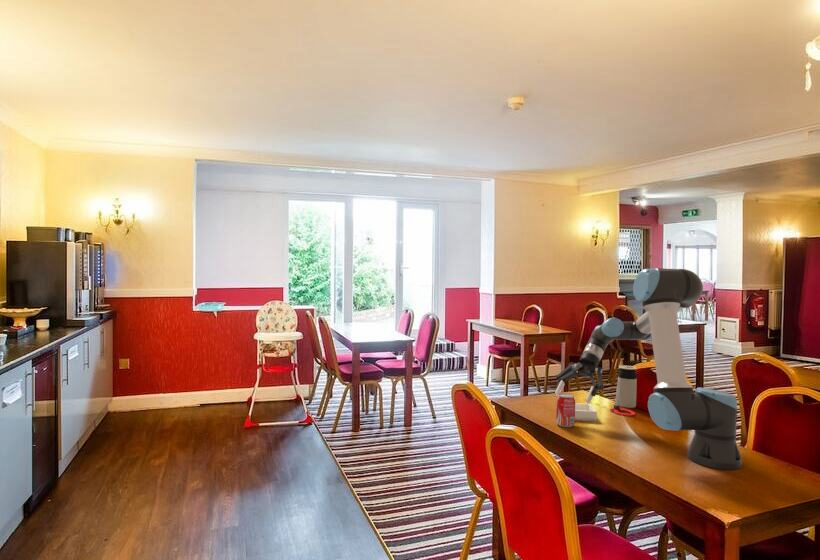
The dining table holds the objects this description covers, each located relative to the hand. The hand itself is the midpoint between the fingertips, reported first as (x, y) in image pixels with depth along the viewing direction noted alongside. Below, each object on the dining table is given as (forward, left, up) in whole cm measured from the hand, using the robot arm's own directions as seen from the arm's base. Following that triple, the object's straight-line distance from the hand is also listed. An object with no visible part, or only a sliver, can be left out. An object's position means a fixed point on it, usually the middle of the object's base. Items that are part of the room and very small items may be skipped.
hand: (571, 398), depth 203 cm
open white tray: (+10, -5, -10) cm, 15 cm away
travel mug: (+32, -31, -10) cm, 46 cm away
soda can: (-4, +3, -10) cm, 11 cm away
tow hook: (+19, -26, -10) cm, 34 cm away
